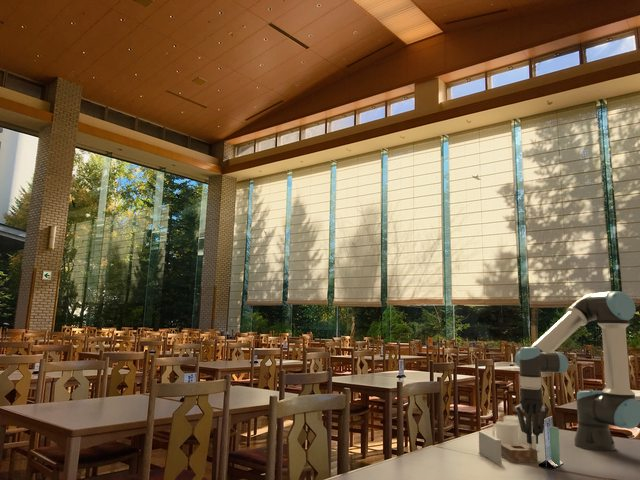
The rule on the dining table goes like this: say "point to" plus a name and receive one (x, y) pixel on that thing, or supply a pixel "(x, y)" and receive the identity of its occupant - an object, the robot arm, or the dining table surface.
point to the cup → (506, 432)
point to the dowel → (555, 445)
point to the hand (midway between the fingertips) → (532, 452)
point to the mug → (521, 435)
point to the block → (519, 453)
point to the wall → (490, 447)
